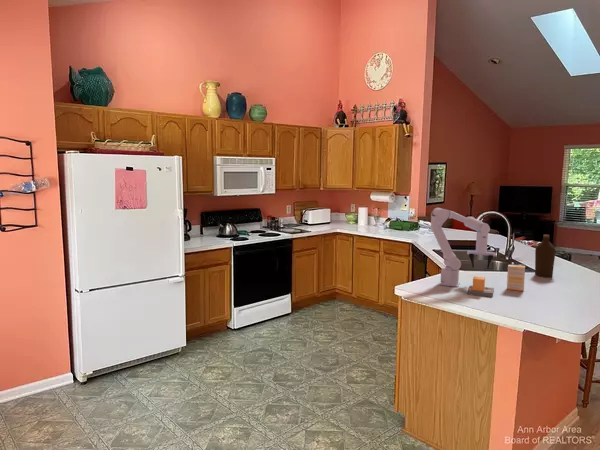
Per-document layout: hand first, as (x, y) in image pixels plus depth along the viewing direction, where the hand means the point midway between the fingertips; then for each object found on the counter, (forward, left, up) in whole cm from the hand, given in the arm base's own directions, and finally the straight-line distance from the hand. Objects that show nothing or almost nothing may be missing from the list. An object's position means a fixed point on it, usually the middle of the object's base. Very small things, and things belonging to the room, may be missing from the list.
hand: (480, 267), depth 242 cm
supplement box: (+18, -3, -10) cm, 21 cm away
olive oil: (+33, +40, -10) cm, 53 cm away
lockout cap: (+1, -20, -7) cm, 21 cm away
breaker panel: (+2, -19, -9) cm, 21 cm away
